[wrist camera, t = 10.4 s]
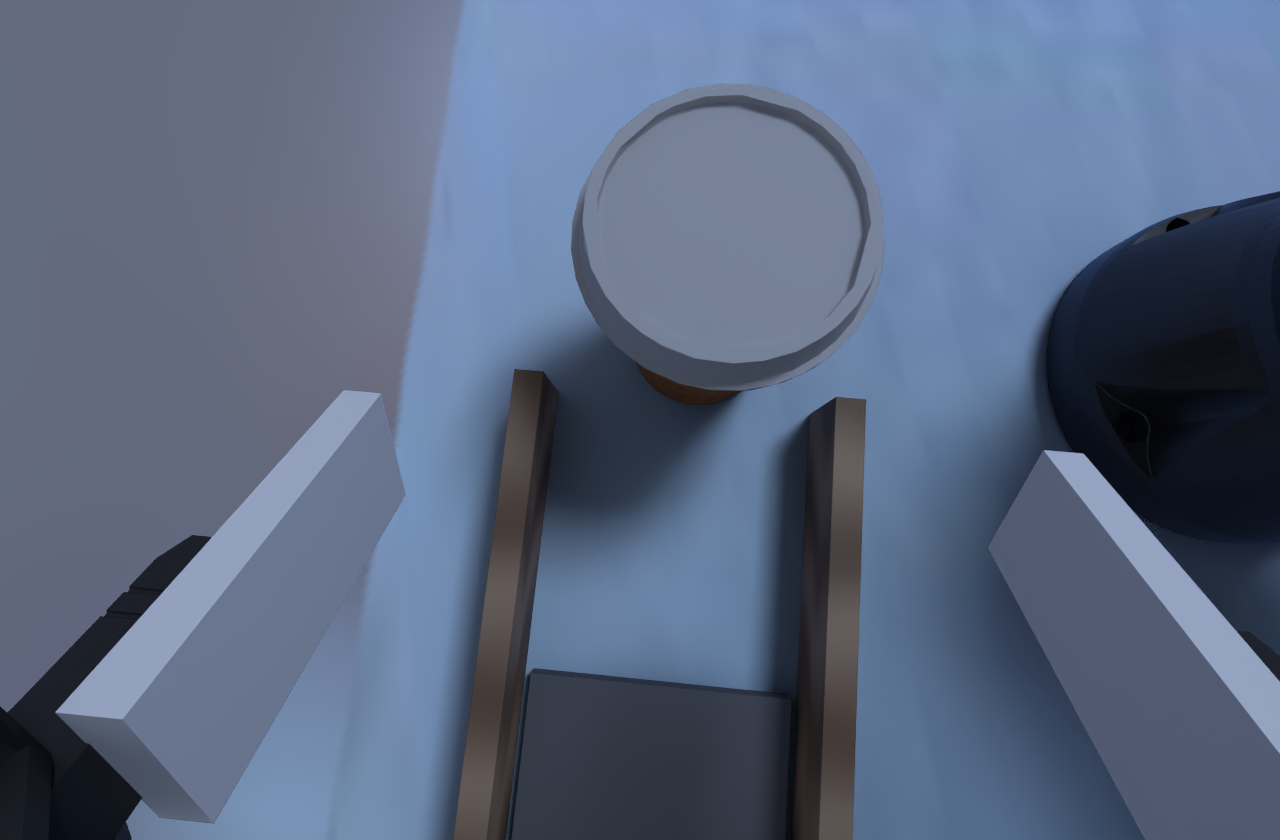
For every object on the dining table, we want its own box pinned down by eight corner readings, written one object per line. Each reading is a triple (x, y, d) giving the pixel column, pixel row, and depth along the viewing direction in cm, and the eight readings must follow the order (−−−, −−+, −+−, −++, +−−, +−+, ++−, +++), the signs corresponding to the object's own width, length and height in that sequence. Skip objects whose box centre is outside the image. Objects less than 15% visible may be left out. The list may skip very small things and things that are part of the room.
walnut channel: (533, 389, 28) (514, 369, 24) (835, 416, 28) (865, 399, 24) (457, 1002, 24) (419, 1096, 20) (810, 1044, 24) (843, 1149, 20)
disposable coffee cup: (596, 255, 29) (559, 78, 18) (787, 244, 29) (879, 59, 18) (604, 445, 28) (571, 390, 16) (806, 433, 28) (922, 370, 16)
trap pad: (534, 668, 26) (530, 673, 26) (787, 694, 26) (791, 699, 25) (500, 964, 24) (495, 979, 24) (772, 995, 24) (776, 1012, 23)
